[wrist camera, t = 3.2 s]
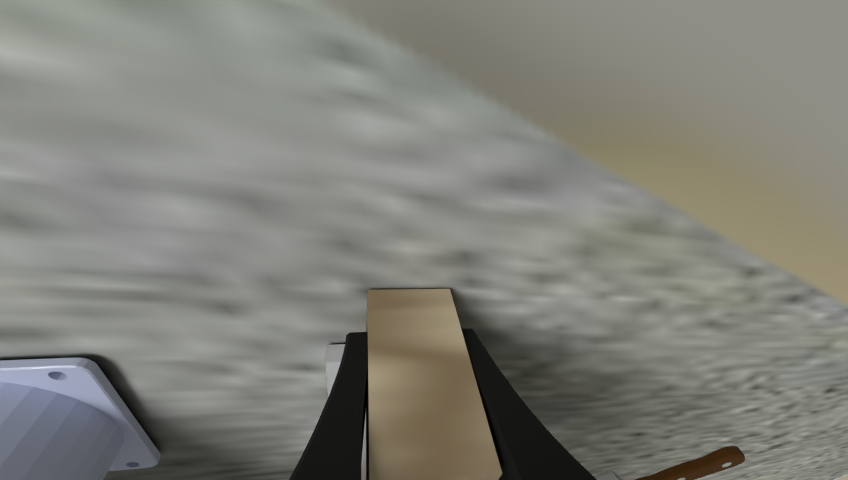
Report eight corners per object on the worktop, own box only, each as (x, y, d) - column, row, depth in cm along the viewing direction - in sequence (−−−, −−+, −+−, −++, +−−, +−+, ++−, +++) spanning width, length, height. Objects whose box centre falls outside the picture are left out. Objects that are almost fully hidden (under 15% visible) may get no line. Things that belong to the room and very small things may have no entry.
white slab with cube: (336, 480, 21) (328, 623, 16) (323, 290, 12) (294, 498, 7) (430, 470, 22) (448, 601, 17) (488, 288, 13) (561, 466, 8)
